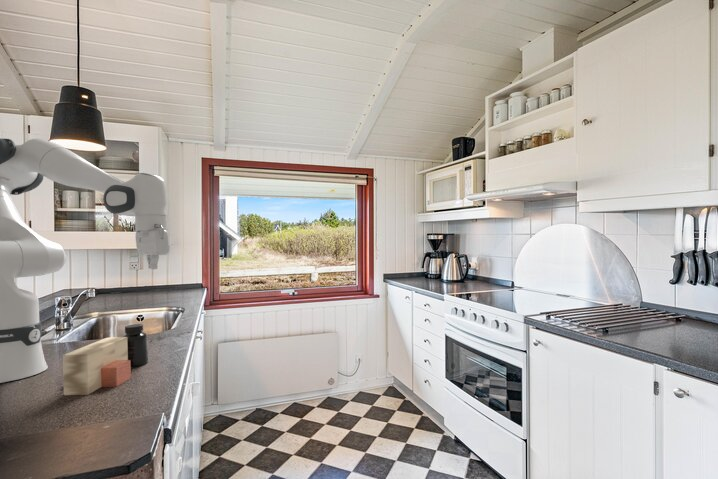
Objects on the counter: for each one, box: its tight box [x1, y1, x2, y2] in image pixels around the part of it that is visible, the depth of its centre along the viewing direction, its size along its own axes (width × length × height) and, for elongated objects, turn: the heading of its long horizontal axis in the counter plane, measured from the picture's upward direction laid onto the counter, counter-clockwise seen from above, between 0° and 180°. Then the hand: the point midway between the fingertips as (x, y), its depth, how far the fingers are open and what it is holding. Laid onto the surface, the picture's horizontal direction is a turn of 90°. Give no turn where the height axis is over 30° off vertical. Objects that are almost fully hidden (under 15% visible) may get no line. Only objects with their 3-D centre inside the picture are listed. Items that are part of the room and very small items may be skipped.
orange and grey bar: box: [100, 360, 132, 388], centre depth 98 cm, size 14×6×5 cm, turn 91°
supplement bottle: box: [122, 323, 149, 368], centre depth 112 cm, size 7×7×12 cm
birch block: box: [62, 336, 128, 396], centre depth 98 cm, size 6×16×10 cm, turn 1°
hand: (152, 269), depth 114 cm, fingers closed
